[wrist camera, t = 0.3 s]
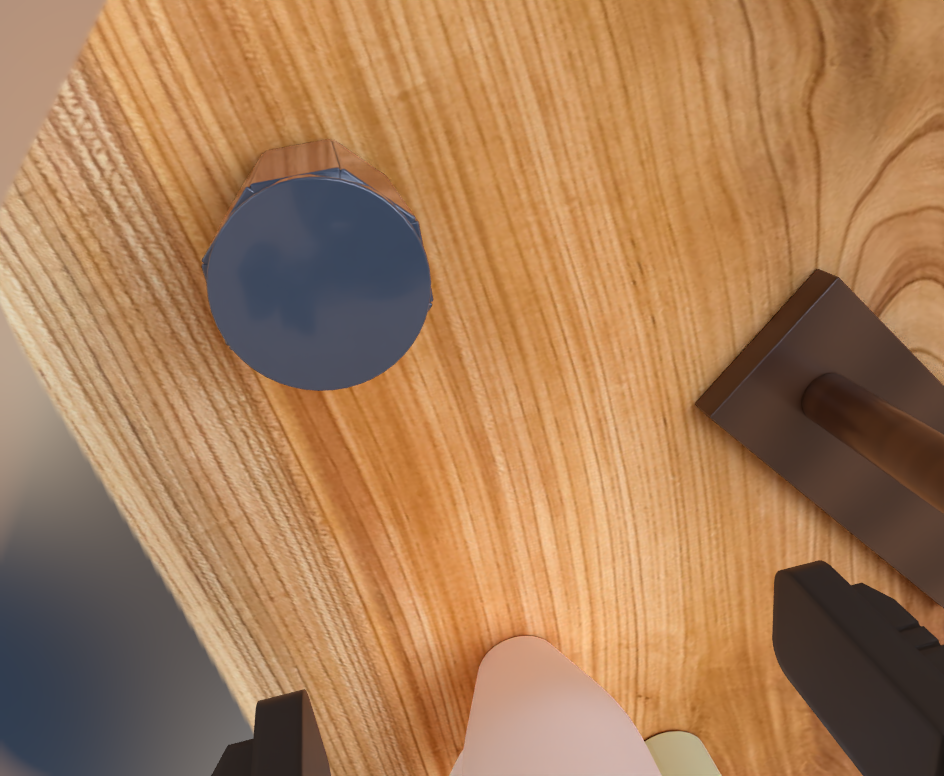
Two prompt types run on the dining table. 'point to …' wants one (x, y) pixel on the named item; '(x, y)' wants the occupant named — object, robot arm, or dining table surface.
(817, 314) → the cup stand
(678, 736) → the candle
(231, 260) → the cup
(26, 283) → the dining table surface
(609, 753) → the mug
